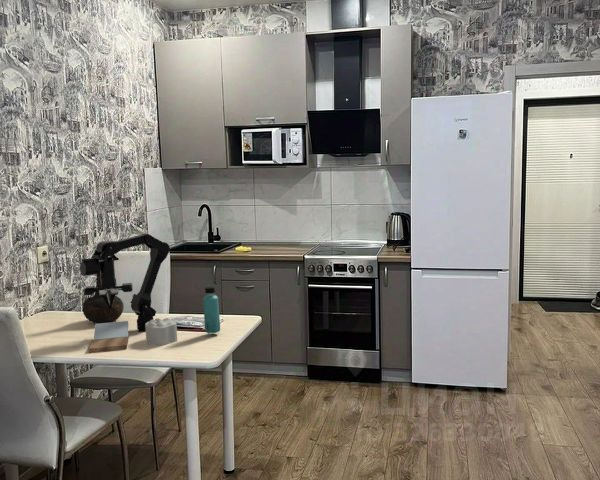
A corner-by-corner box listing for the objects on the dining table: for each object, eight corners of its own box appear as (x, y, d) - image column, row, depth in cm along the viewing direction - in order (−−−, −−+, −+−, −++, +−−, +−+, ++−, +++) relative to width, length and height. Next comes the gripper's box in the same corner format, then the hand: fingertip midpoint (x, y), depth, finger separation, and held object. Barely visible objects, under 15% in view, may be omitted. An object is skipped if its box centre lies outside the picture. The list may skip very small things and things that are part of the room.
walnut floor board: (128, 340, 235) (128, 336, 235) (126, 349, 223) (126, 345, 223) (93, 344, 232) (92, 340, 232) (89, 352, 220) (89, 348, 220)
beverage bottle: (223, 333, 241) (221, 285, 238) (214, 337, 235) (212, 289, 232) (210, 332, 243) (207, 285, 241) (201, 336, 237) (198, 288, 235)
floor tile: (128, 323, 244) (127, 320, 244) (127, 339, 236) (127, 336, 235) (95, 326, 241) (95, 323, 241) (94, 342, 233) (93, 339, 232)
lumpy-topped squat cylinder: (159, 346, 225) (158, 325, 224) (139, 341, 233) (138, 320, 232) (180, 340, 233) (179, 319, 232) (161, 335, 241) (159, 315, 240)
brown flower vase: (82, 320, 272) (77, 261, 269) (121, 315, 280) (117, 257, 277) (85, 328, 256) (80, 266, 253) (127, 323, 264) (122, 262, 261)
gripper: (132, 267, 247) (134, 303, 249) (85, 270, 243) (88, 307, 245) (130, 271, 237) (133, 309, 238) (82, 275, 232) (85, 313, 234)
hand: (110, 309), depth 239 cm, fingers closed
